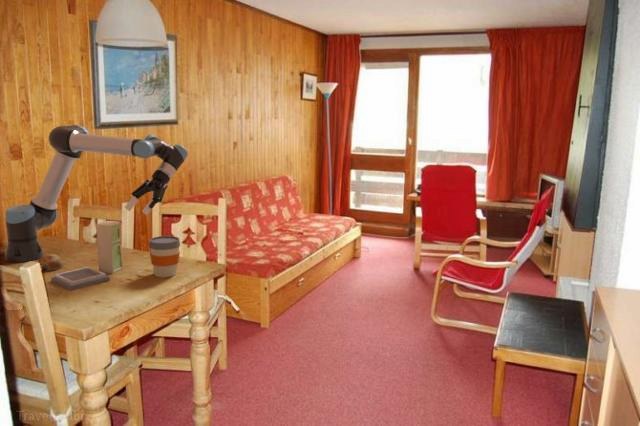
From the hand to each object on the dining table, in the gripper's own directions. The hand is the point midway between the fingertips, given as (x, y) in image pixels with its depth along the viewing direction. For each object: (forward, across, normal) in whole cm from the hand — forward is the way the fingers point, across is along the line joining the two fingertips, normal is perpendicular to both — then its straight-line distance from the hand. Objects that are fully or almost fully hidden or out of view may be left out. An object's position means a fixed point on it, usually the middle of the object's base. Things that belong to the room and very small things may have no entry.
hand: (135, 211), depth 222 cm
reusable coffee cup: (+17, -19, -18) cm, 31 cm away
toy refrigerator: (+26, +1, -9) cm, 27 cm away
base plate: (+36, -2, +2) cm, 36 cm away
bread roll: (+37, +23, +3) cm, 44 cm away
